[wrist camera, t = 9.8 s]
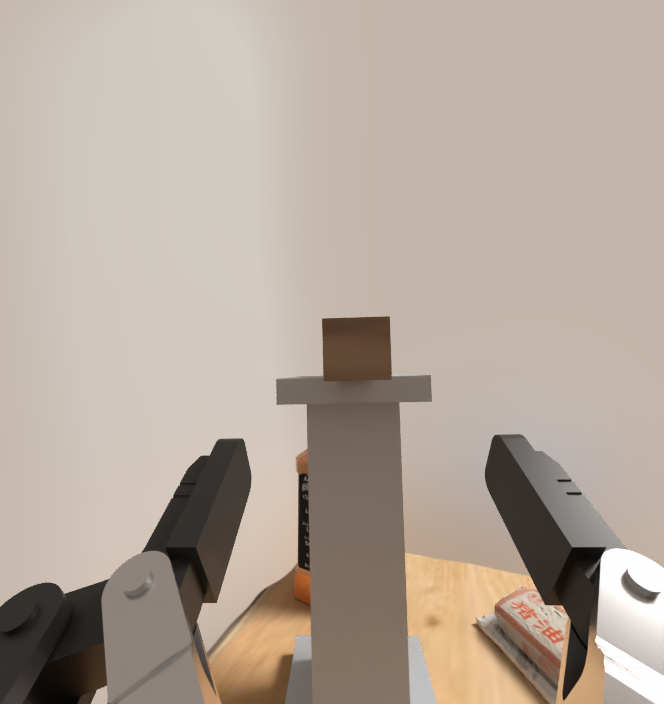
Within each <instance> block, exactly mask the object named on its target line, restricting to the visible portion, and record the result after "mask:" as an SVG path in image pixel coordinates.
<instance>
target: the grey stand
mask: <svg viewBox="0 0 664 704" xmlns="http://www.w3.org/2000/svg"><path fill="white" fill-rule="evenodd" d="M276 387H277V405H281V404H307V434H308V435H307V439H308V440H307V441H308V493H309V546H310V598H311V636H302V635H297V638H296V643H295V649H294V654H293V660H292V665H291V670H290V676H289V681H288V687H287V692H286V698H285V703H284V704H437V701H436V698H435V694H434V690H433V687H432V683H431V680H430V676H429V672H428V669H427V665H426V662H425V658H424V654H423V651H422V647H421V643H420V640H419V636H408V629H407V602H406V575H405V548H404V521H403V493H402V465H401V439H400V413H399V412H400V411H399V402H431V401H432V395H431V376H430V375H409V374H392V380H371V381H327V382H324V376H301V377H291V378H281V379H277V380H276Z"/></svg>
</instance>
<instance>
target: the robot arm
mask: <svg viewBox="0 0 664 704" xmlns="http://www.w3.org/2000/svg"><path fill="white" fill-rule="evenodd" d="M485 480H486V485H487V488H488V490H489V492H490V495H491V497H492V499H493V501H494V502H495V505H496V507H497V509H498V511H499V513H500V515H501V517H502V519H503V521H504V523H505V525H506V527H507V529H508V531H509V533H510V535H511V537H512V539H513V541H514V543H515V545H516V547H517V549H518V552H519V554H520V556H521V558H522V560H523V562H524V564H525V565H526V568H527V570H528V572H529V574H530V576H531V578H532V580H533V582H534V584H535V586H536V588H537V590H538V592H539V594H540V596H541V598H542V600H543V602H544V604H545V605H563V607H564V609H565V611H566V613H567V615H568V617H569V618H568V620H567V623H566V629H565V636H564V644H563V652H562V659H561V667H560V674H559V682H558V690H557V697H556V703H555V704H664V569H663V568H662V567H660V566H659V565H657V564H656V563H655V562H653V561H651V560H650V559H648V558H646V557H644V556H642V555H640V554H637V553H635V552H632V551H629V550H628V549H627V548H626V547H625V546H624V545H623V543H622V542H621V541H620V540H619V538H617V536H616V535H615V533H614V532H613V531H612V530H611V528H610V527H609V526H608V525H607V523H606V522H605V521H604V520H603V518H602V517H601V516H600V515H599V514H598V512H597V511H596V510H595V509H594V507H593V506H592V505H591V503H590V502H589V501H588V500H587V499H586V497H585V496H584V495H582V493H581V491H580V490H579V488H578V487H577V486H576V485H575V483H574V482H572V481H571V478H570V477H569V476H568V475H567V473H566V472H565V471H564V470H563V468H562V467H561V466H560V465H559V464H558V463H557V462H556V461H554V460H553V459H552V458H550V457H549V456H547V455H546V454H545V453H544V452H542V451H535V450H534V449H533V448H532V446H531V445H530V444H529V442H528V441H527V440H526V438H525V437H524V436H523V435H520V434H518V435H516V434H515V435H495V436H494V437H493V439H492V443H491V447H490V451H489V456H488V460H487V464H486V468H485ZM250 488H251V470H250V466H249V461H248V456H247V452H246V447H245V442H244V440H243V439H219V440H218V441H217V442H216V444H215V446H214V448H213V450H212V452H211V454H210V456H200V457H199V458H198V459H197V460H196V461H195V463H193V464H192V465H191V466H190V467H189V468H188V470H187V471H186V473H185V475H184V477H183V479H182V481H181V482H180V486H178V488H177V490H176V491H175V493H174V496H173V499H171V501H170V503H169V504H168V506H167V508H166V510H165V512H164V514H163V515H162V517H161V519H160V521H159V523H158V525H157V527H156V529H155V530H154V532H153V534H152V536H151V537H150V539H149V541H148V543H147V545H146V547H145V548H144V550H143V551H142V553H141V554H138V555H136V556H134V557H132V558H131V559H129V560H128V561H126V562H125V563H124V564H122V565H121V566H120V567H119V568H118V569H117V570H116V571H115V572H114V573H113V575H112V576H111V578H110V579H108V580H105V581H102V582H99V583H96V584H93V585H90V586H87V587H84V588H81V589H78V590H75V591H72V592H69V593H66V594H64V593H63V591H62V590H61V589H60V587H59V586H57V585H56V584H53V583H41V584H37V585H34V586H31V587H29V588H27V589H25V590H23V591H21V592H20V593H18V594H17V595H15V596H13V597H12V598H11V599H9V600H8V601H7V602H5V603H4V604H3V605H2V606H1V607H0V704H91V702H92V699H93V697H94V695H95V693H96V690H97V689H99V688H102V687H104V686H107V689H108V703H107V704H221V701H220V698H219V694H218V691H217V688H216V684H215V681H214V678H213V674H212V671H211V667H210V664H209V661H208V657H207V654H206V650H205V647H204V644H203V640H202V637H201V633H200V630H199V627H198V623H197V619H198V615H199V613H200V610H201V606H202V604H203V603H217V600H218V596H219V593H220V590H221V586H222V583H223V580H224V576H225V573H226V569H227V566H228V563H229V560H230V556H231V553H232V549H233V546H234V543H235V539H236V536H237V533H238V529H239V526H240V523H241V519H242V516H243V513H244V509H245V506H246V502H247V499H248V495H249V492H250Z"/></svg>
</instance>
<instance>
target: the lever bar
mask: <svg viewBox="0 0 664 704" xmlns="http://www.w3.org/2000/svg"><path fill="white" fill-rule="evenodd" d="M322 328H323V369H324V371H323V373H324V382H327V381H371V380H392V372H391V344H390V317H364V318H363V317H360V318H328V319H322Z"/></svg>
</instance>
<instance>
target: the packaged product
mask: <svg viewBox="0 0 664 704" xmlns="http://www.w3.org/2000/svg"><path fill="white" fill-rule="evenodd" d="M568 618H569V617H568V615H567V613H566V612H565V611H564V610H562V609H561V608H560V607H558V606H557V605H545V604H544V602H543V600H542V598H541V596H540V594H539V592H538V591H537V590H535V589H531V588H527V587H522V588H519V589H517V590H516V591H515V592H513V593H512V594H510V595H509V596H508V597H505V598H502V599H501V600H500V601H499V602H498V603H497V604H496V605H495V613H491V614H488V615H484V616H483V618H476V620H477V625H478V626H479V627H480V628H481V629H482V631H483V632H484V633H485V634H486V635H487V636H488V637H489V638H490V639H491V640H492V641H493V642H494V643H495V644H496V645H498V646H499V648H500V649H501V650H502V651H503V652H504V654H505V655H506V656H507V657H508V658H509V659H510V660H511V661H512V662H513V663H514V665H515V666H516V667H517V668H518V669H519V670H520V671H521V672H522V674H523V675H524V676H525V677H526V678H527V679H528V680H529V681H530V682H531V684H532V685H533V686H534V687H535V688H536V689H537V690H538V691H539V692H540V694H541V695H542V696H543V697H544V698H545V700H546V701H547V702H548V703H549V704H555V703H556V697H557V690H558V682H559V674H560V667H561V659H562V652H563V644H564V636H565V629H566V623H567V620H568Z"/></svg>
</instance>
